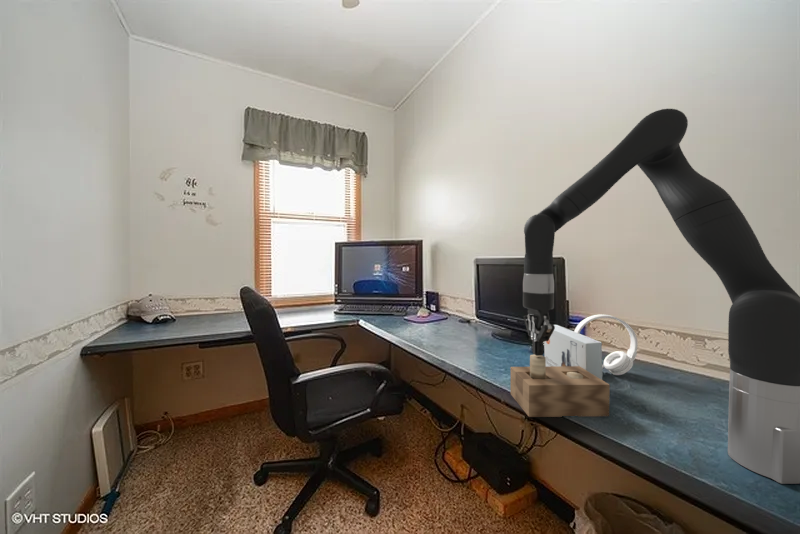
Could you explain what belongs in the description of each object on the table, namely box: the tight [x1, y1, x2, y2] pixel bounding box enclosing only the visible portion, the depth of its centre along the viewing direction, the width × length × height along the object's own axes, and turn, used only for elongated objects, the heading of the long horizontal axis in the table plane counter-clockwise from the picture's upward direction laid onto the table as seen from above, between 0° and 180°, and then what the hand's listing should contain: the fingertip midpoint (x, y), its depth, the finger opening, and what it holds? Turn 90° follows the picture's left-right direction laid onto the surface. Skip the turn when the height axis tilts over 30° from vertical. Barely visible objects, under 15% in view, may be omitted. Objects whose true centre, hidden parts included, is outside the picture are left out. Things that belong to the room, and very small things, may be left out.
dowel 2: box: [567, 372, 583, 379], centre depth 77 cm, size 4×4×8 cm
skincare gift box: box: [543, 324, 603, 380], centre depth 91 cm, size 21×5×16 cm, turn 4°
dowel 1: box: [529, 354, 546, 379], centre depth 77 cm, size 4×4×8 cm
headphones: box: [573, 313, 639, 376], centre depth 97 cm, size 8×19×20 cm, turn 78°
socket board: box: [510, 366, 611, 418], centre depth 77 cm, size 20×12×8 cm, turn 90°
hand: (537, 354), depth 77 cm, fingers closed
